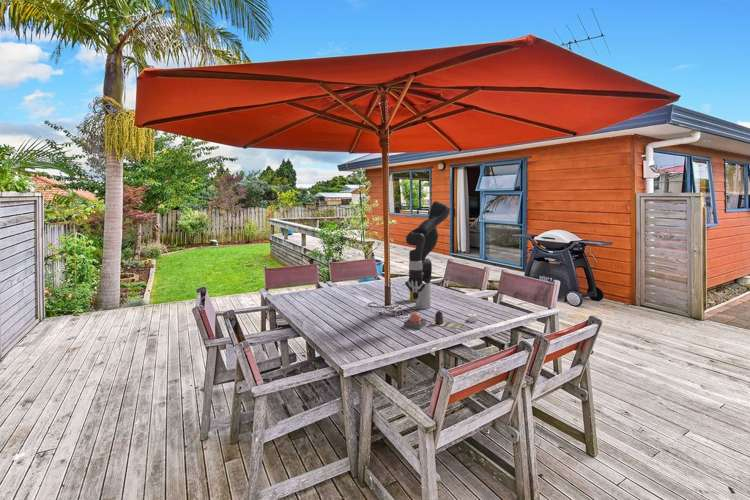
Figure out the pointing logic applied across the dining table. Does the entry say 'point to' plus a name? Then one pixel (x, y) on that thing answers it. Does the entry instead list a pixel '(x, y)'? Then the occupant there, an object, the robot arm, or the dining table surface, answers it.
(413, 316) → the dome
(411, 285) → the food
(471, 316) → the die
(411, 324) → the dome collar
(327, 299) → the dining table surface
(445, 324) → the board
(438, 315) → the pawn
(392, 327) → the dining table surface
